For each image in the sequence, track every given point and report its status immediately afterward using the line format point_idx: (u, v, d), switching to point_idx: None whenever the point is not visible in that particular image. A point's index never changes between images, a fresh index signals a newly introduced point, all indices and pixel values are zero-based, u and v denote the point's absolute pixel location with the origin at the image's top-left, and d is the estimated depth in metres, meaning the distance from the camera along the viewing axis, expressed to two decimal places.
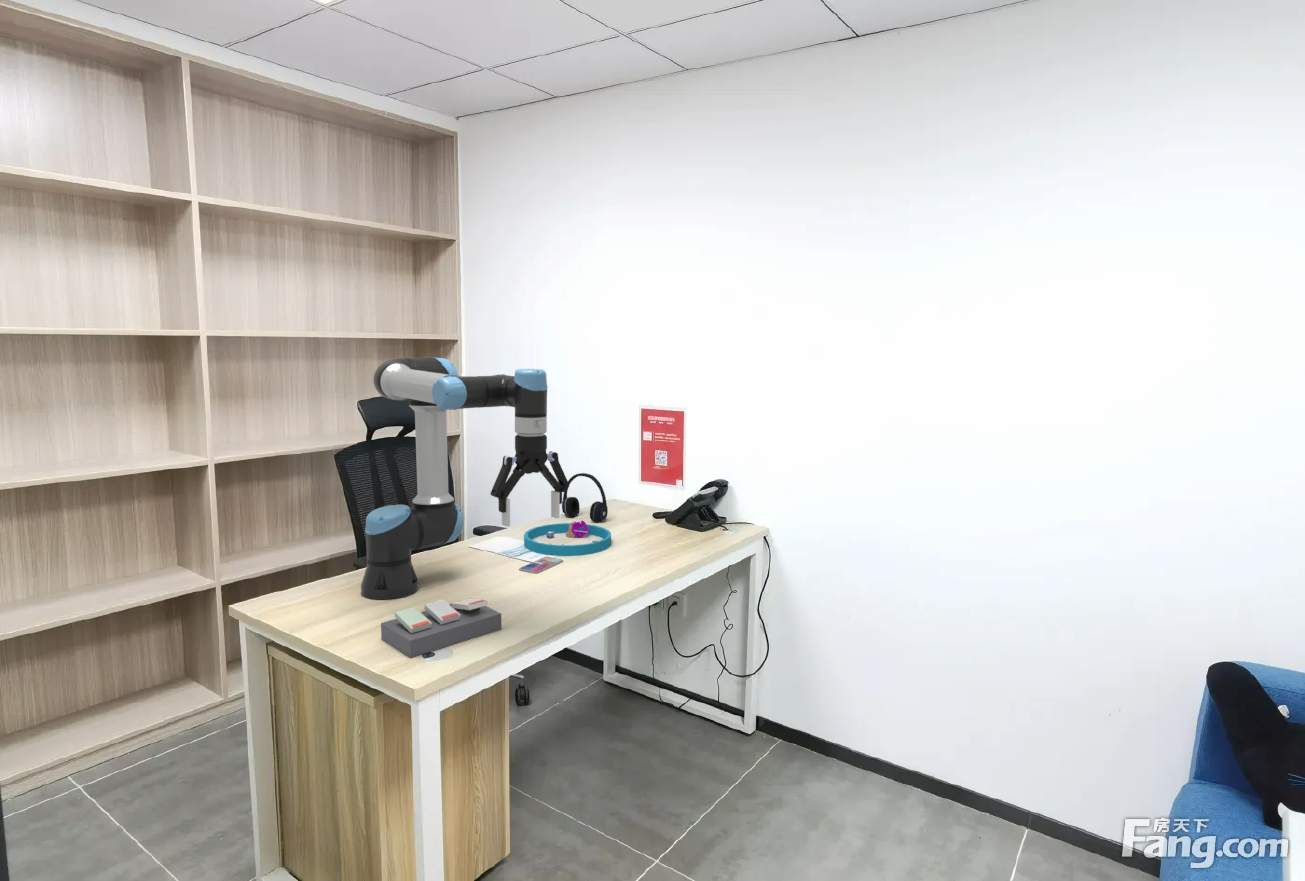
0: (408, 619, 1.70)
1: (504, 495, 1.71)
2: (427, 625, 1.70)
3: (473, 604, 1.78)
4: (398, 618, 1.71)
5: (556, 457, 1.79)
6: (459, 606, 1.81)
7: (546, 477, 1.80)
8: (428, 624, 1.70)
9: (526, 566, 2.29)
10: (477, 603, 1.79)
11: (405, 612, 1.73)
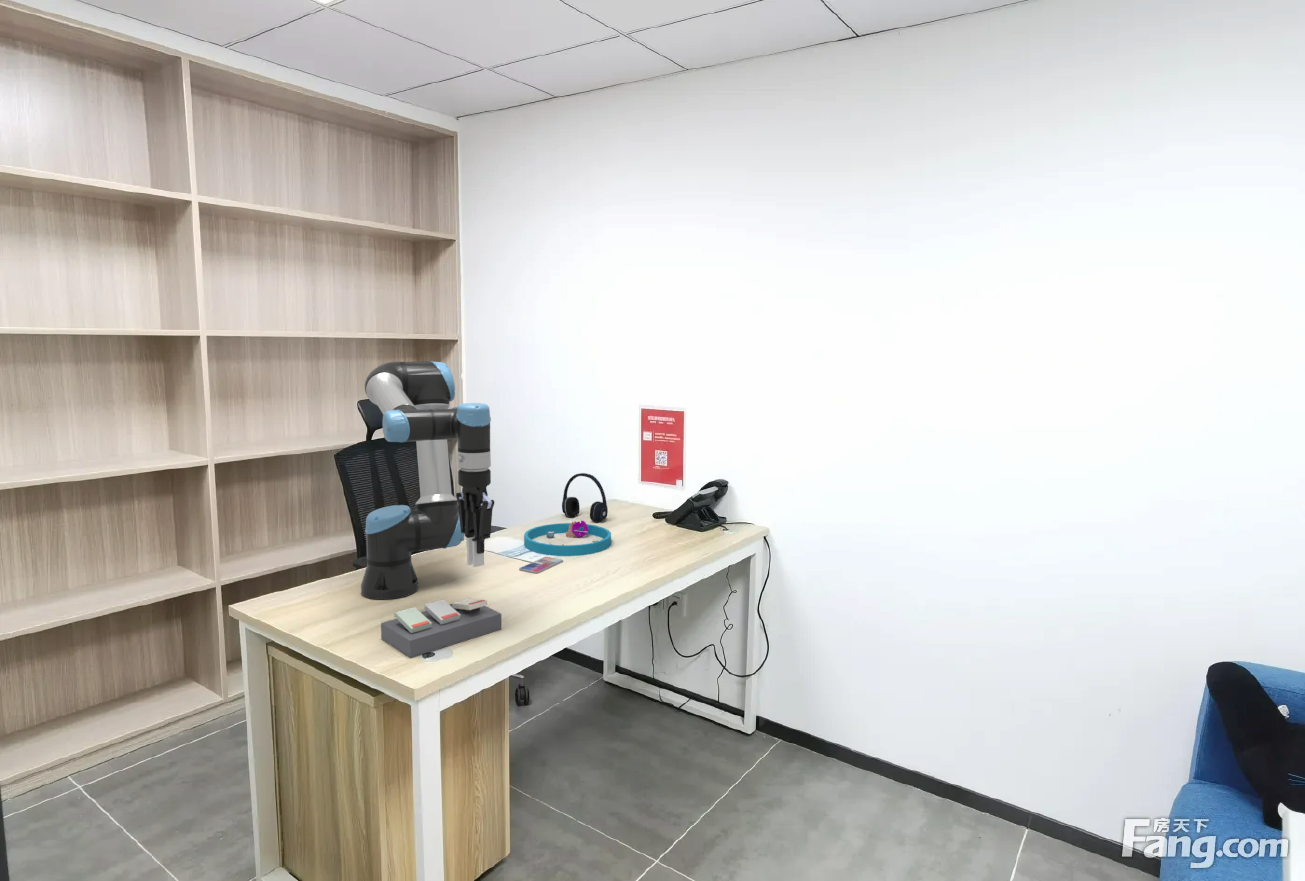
0: (408, 619, 1.70)
1: (465, 533, 1.78)
2: (427, 625, 1.70)
3: (473, 604, 1.78)
4: (398, 618, 1.71)
5: (483, 506, 1.72)
6: (459, 606, 1.81)
7: None
8: (428, 624, 1.70)
9: (526, 566, 2.29)
10: (477, 603, 1.79)
11: (405, 612, 1.73)
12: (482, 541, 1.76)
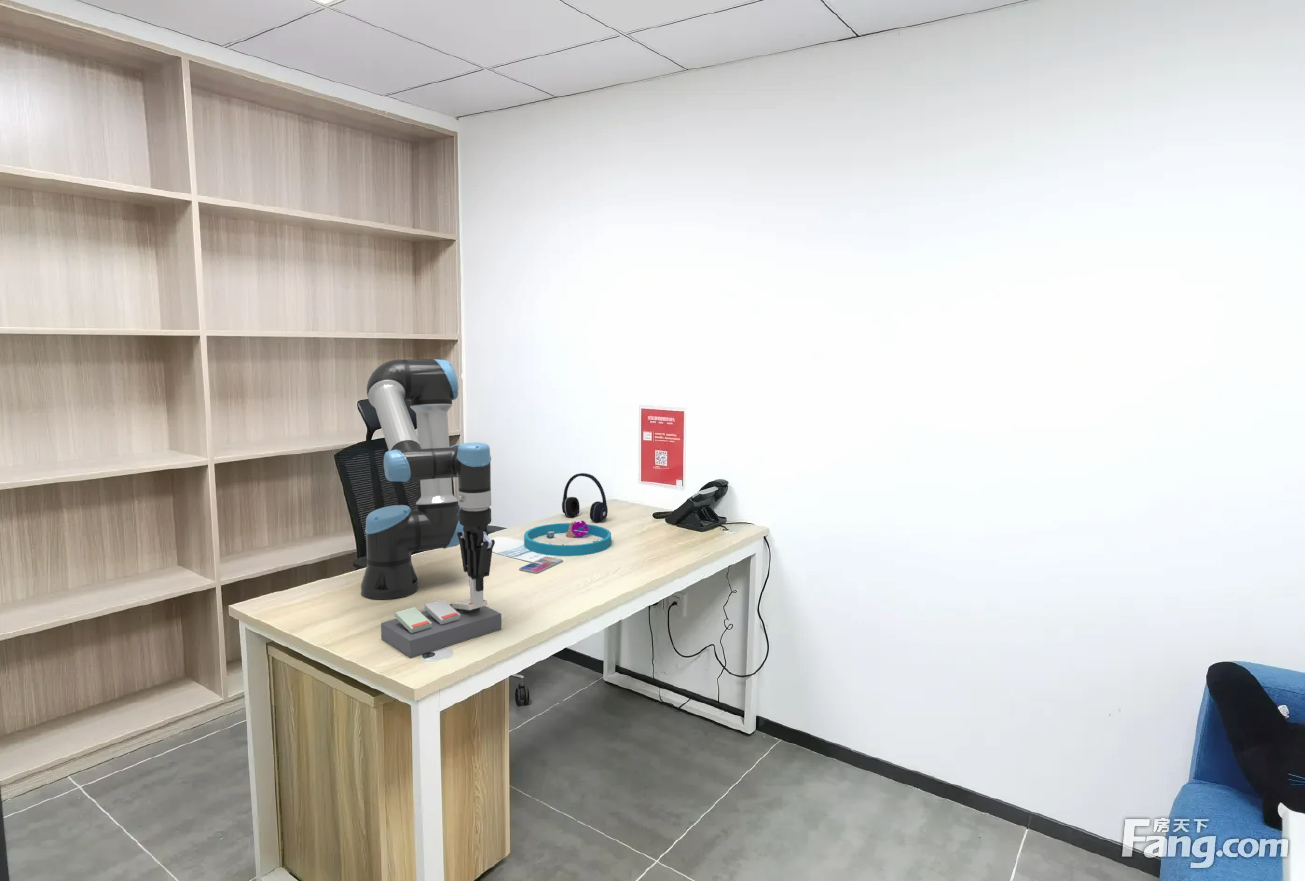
0: (408, 619, 1.70)
1: (468, 572, 1.79)
2: (427, 625, 1.70)
3: None
4: (398, 618, 1.71)
5: (484, 546, 1.73)
6: (459, 606, 1.81)
7: None
8: (428, 624, 1.70)
9: (526, 566, 2.29)
10: None
11: (405, 612, 1.73)
12: (481, 579, 1.77)
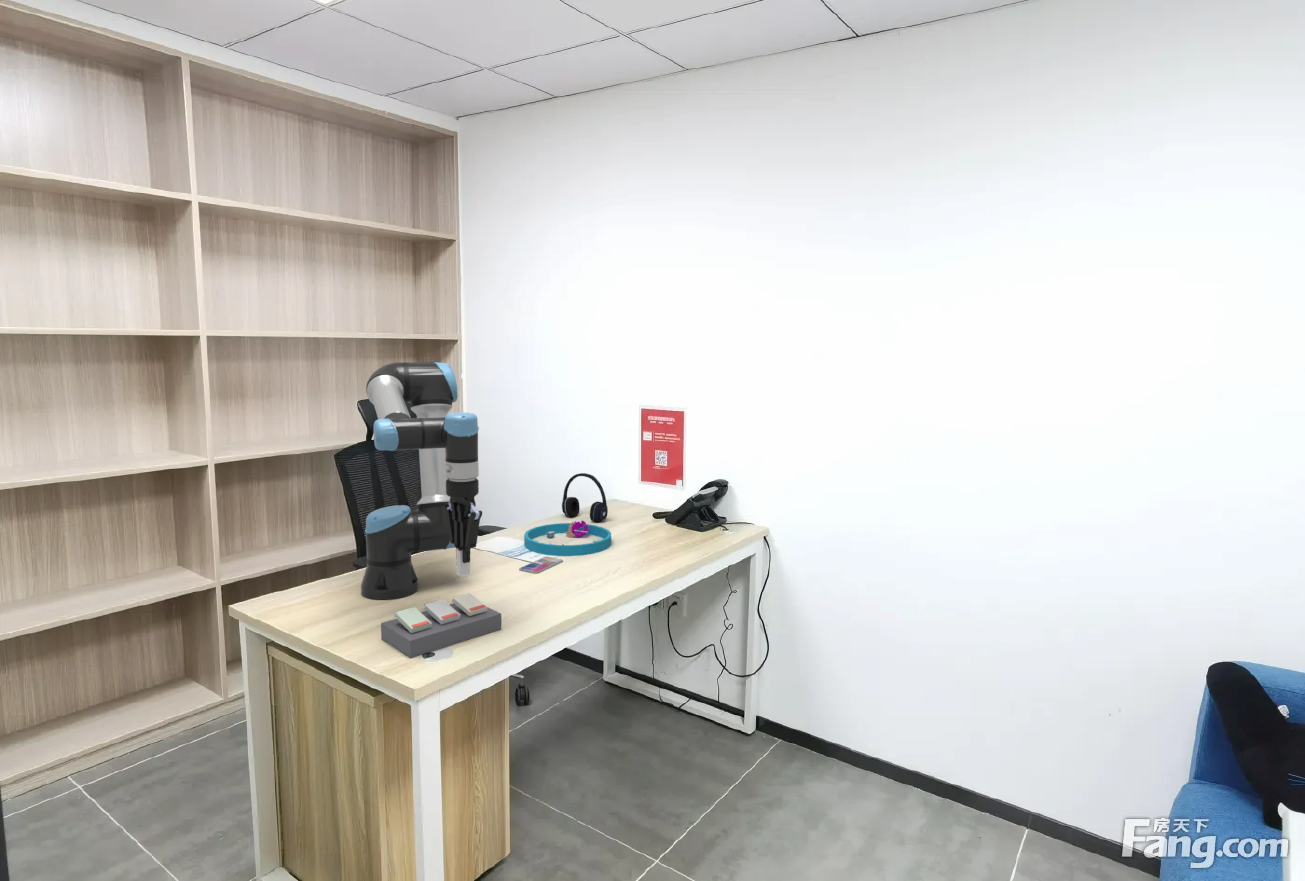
0: (408, 619, 1.70)
1: (454, 544, 1.77)
2: (427, 625, 1.70)
3: (474, 610, 1.78)
4: (398, 618, 1.71)
5: (471, 517, 1.71)
6: (459, 605, 1.81)
7: None
8: (428, 624, 1.70)
9: (526, 566, 2.29)
10: (478, 609, 1.79)
11: (405, 612, 1.73)
12: (468, 550, 1.76)
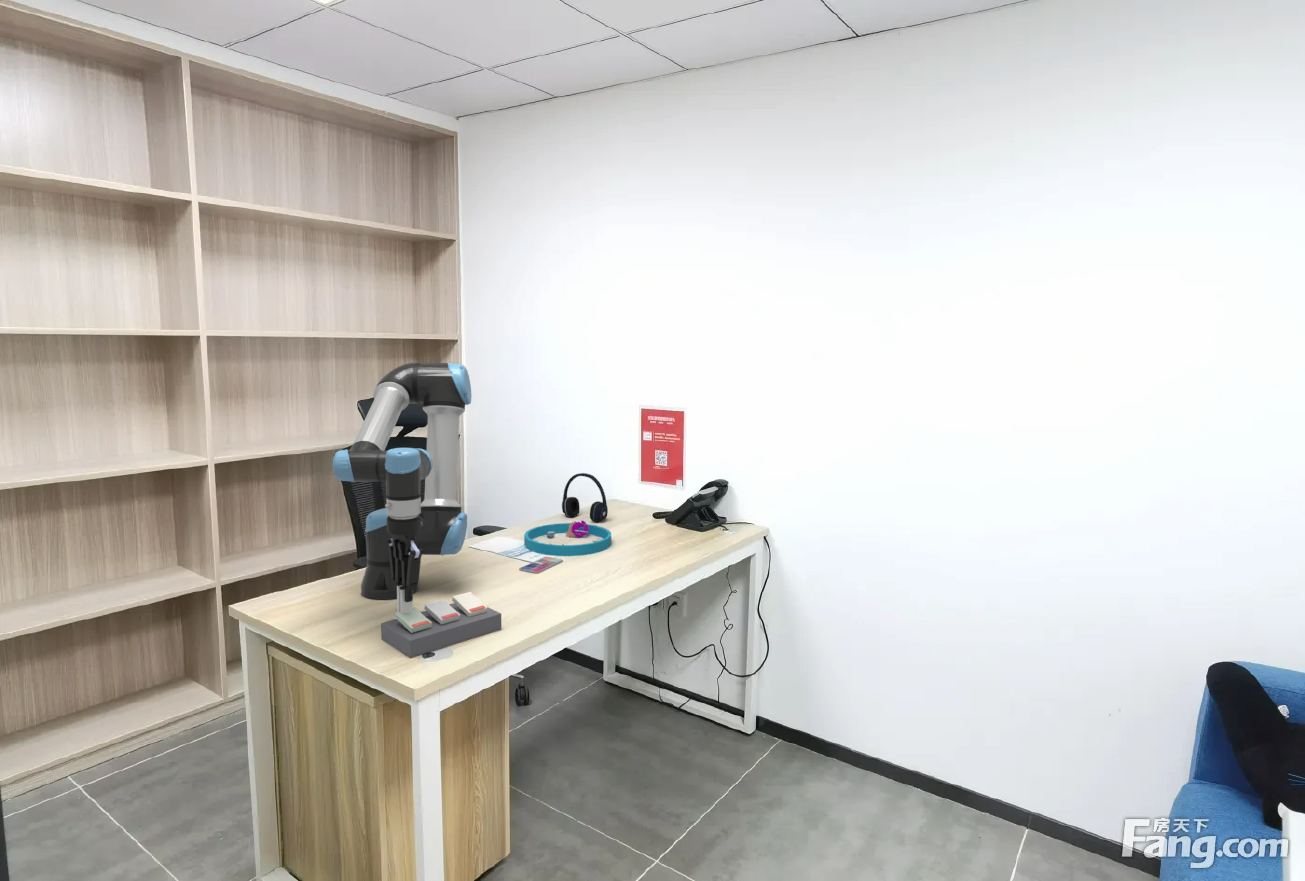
0: (408, 619, 1.70)
1: (395, 581, 1.73)
2: (427, 625, 1.70)
3: (473, 611, 1.79)
4: (398, 618, 1.71)
5: (411, 556, 1.67)
6: (459, 605, 1.81)
7: None
8: (428, 624, 1.70)
9: (526, 566, 2.29)
10: (478, 610, 1.79)
11: None
12: (410, 589, 1.71)
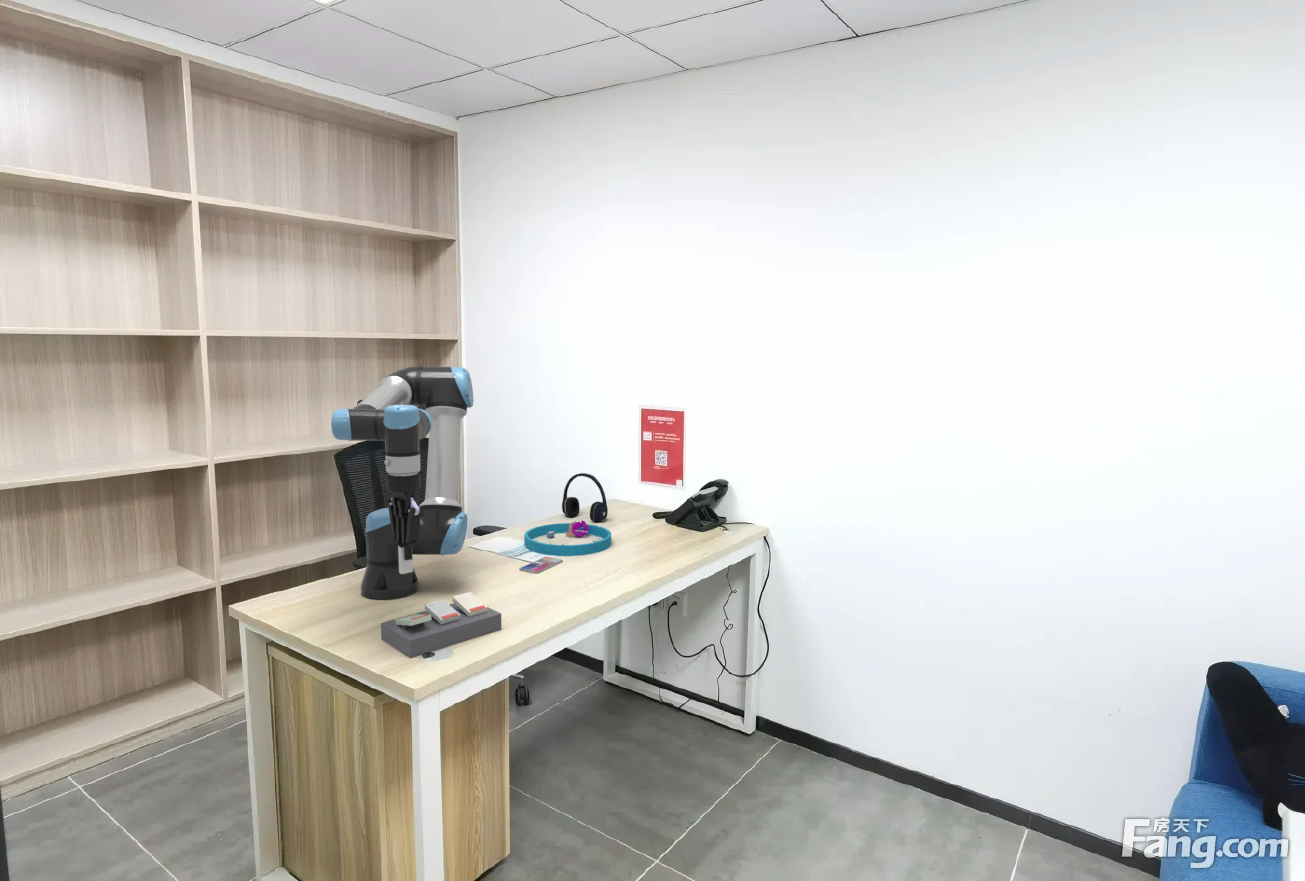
0: (408, 618, 1.71)
1: (396, 541, 1.71)
2: (426, 617, 1.70)
3: (474, 611, 1.79)
4: (398, 622, 1.71)
5: (411, 513, 1.65)
6: (459, 605, 1.81)
7: None
8: (427, 616, 1.70)
9: (526, 566, 2.29)
10: (478, 610, 1.79)
11: (405, 617, 1.73)
12: (410, 547, 1.70)
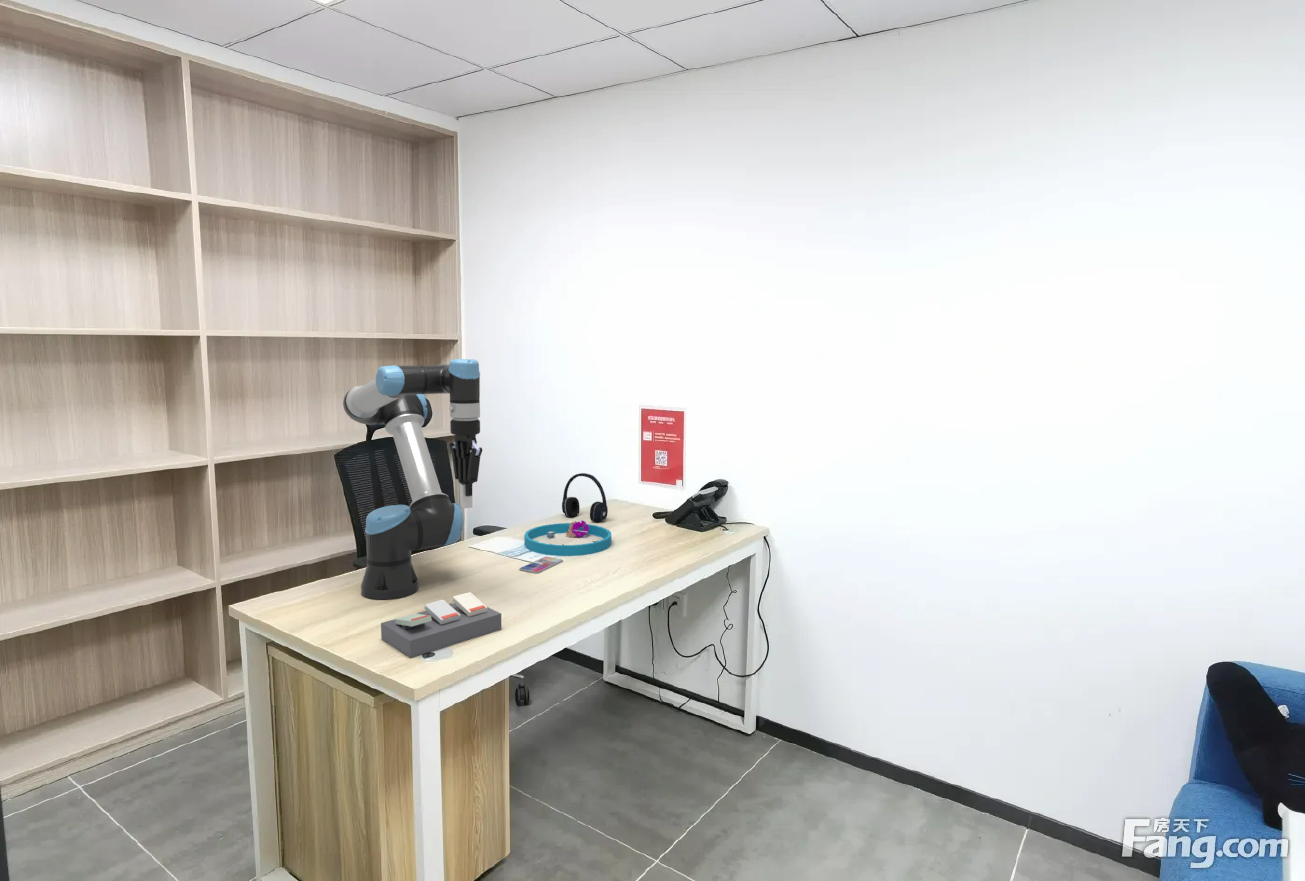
0: (408, 618, 1.71)
1: (458, 479, 1.94)
2: (427, 618, 1.70)
3: (474, 611, 1.79)
4: (398, 622, 1.71)
5: (472, 453, 1.88)
6: (459, 605, 1.81)
7: None
8: (427, 617, 1.70)
9: (526, 566, 2.29)
10: (478, 610, 1.79)
11: (405, 617, 1.73)
12: (470, 485, 1.93)
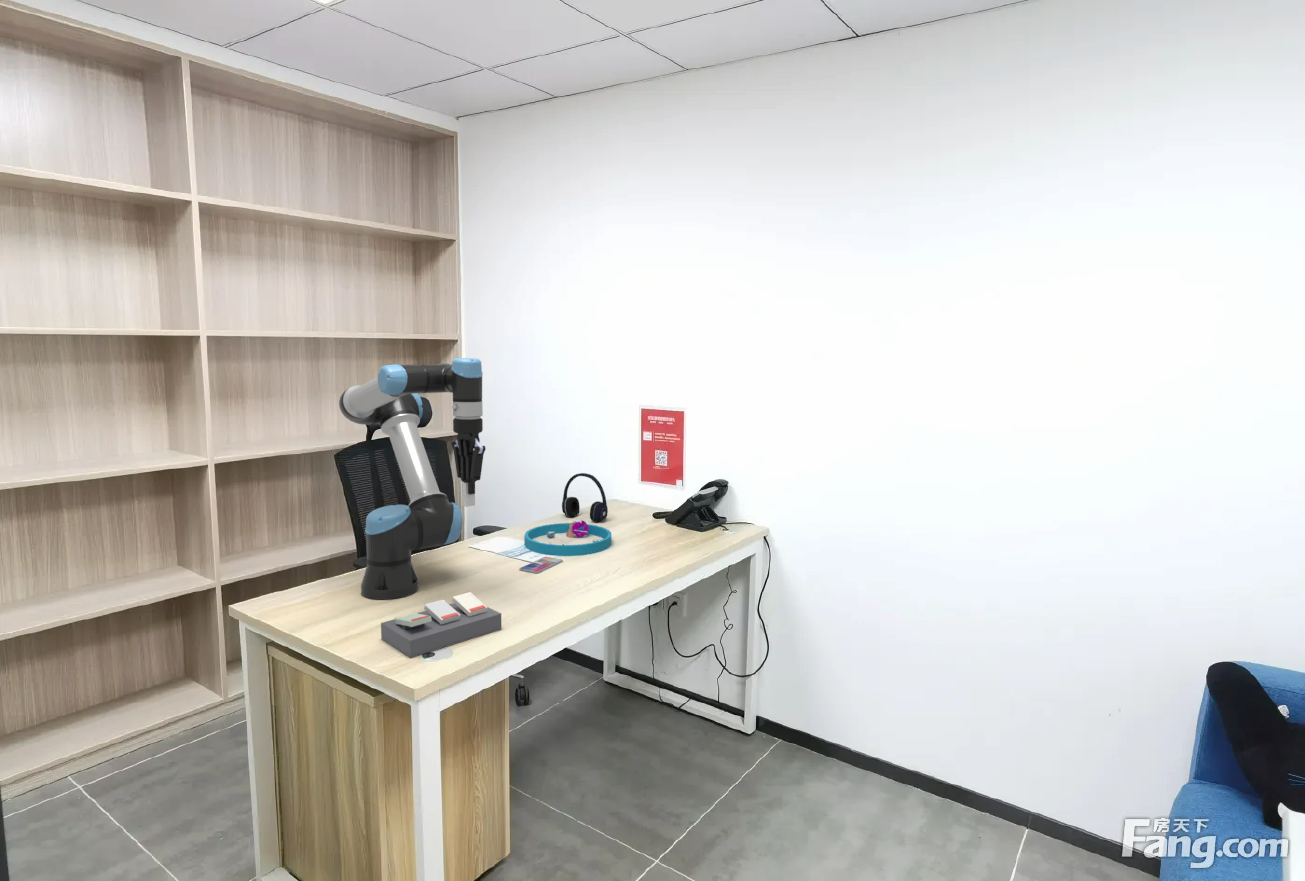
0: (408, 618, 1.71)
1: (461, 477, 1.95)
2: (427, 618, 1.70)
3: (474, 611, 1.78)
4: (398, 622, 1.71)
5: (475, 451, 1.90)
6: (459, 605, 1.81)
7: None
8: (428, 617, 1.70)
9: (526, 566, 2.29)
10: (478, 610, 1.79)
11: (405, 616, 1.73)
12: (473, 483, 1.94)
